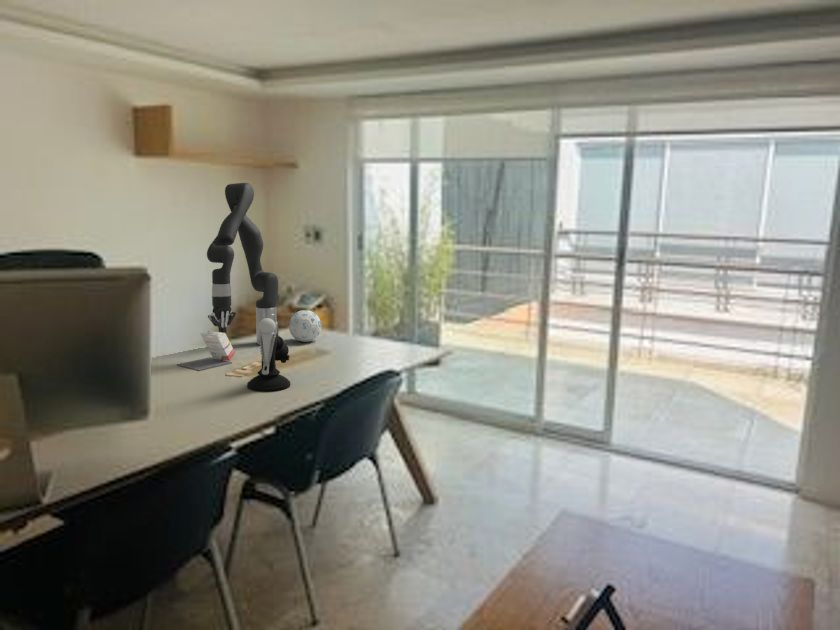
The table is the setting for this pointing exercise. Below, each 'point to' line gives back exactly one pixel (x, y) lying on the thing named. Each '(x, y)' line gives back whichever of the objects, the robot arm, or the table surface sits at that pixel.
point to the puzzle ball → (305, 326)
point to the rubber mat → (204, 363)
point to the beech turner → (244, 370)
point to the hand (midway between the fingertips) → (222, 335)
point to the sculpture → (270, 360)
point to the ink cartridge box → (218, 345)
